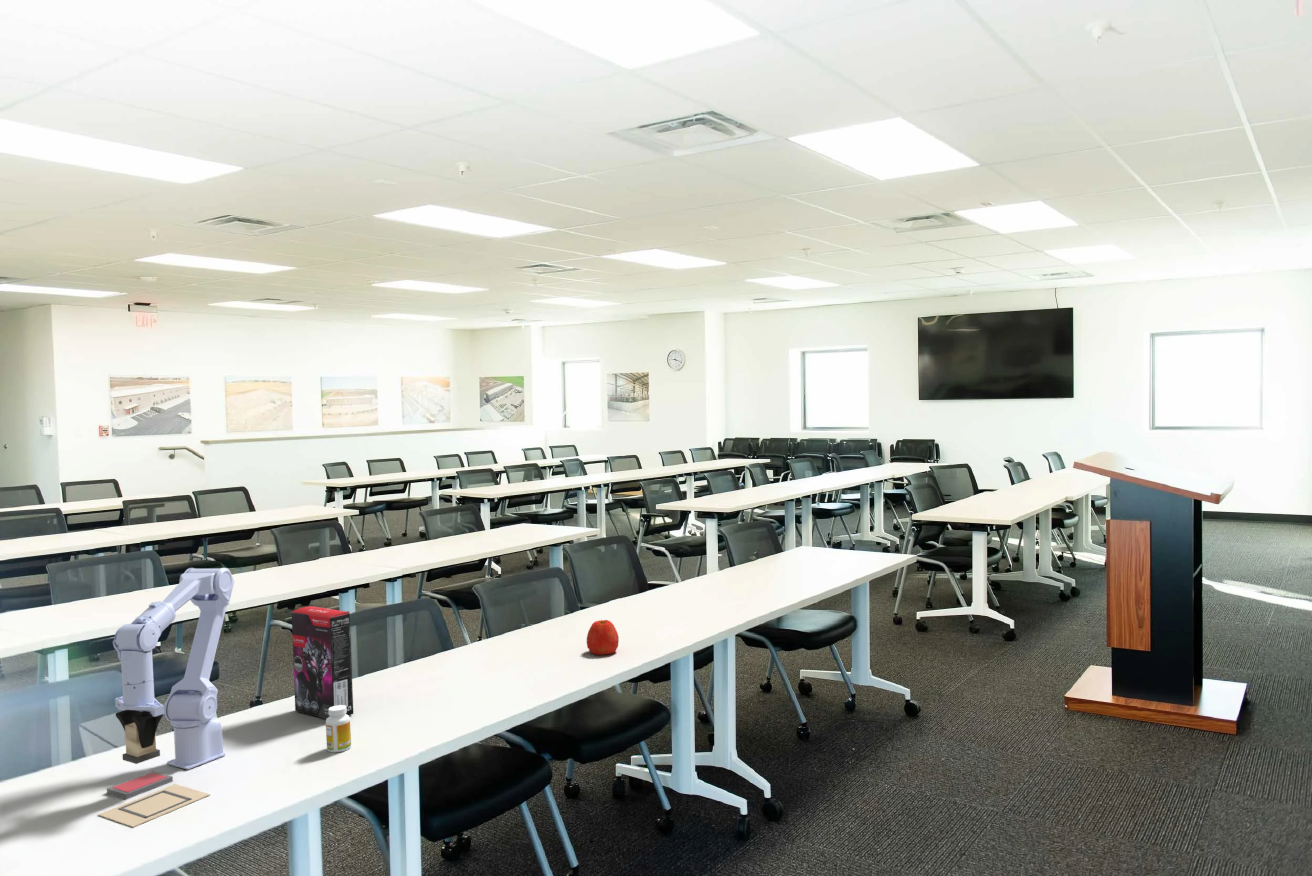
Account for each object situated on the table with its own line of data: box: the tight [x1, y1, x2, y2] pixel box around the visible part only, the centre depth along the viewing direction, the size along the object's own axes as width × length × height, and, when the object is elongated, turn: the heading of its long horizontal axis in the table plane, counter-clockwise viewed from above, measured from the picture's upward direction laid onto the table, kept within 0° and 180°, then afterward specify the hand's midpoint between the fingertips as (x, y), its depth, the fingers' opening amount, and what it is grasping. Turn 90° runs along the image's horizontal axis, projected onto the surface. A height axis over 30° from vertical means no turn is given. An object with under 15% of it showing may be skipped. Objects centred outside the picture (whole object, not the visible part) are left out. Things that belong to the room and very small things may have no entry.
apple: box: [586, 619, 620, 656], centre depth 287 cm, size 10×10×10 cm
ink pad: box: [106, 770, 174, 800], centre depth 192 cm, size 10×7×1 cm
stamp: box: [122, 723, 161, 765], centre depth 190 cm, size 5×5×7 cm
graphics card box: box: [291, 605, 354, 720], centre depth 236 cm, size 17×7×27 cm, turn 56°
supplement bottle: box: [325, 705, 352, 753], centre depth 211 cm, size 5×5×10 cm
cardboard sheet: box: [97, 783, 211, 828], centre depth 183 cm, size 16×12×1 cm
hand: (141, 744), depth 190 cm, fingers closed on stamp, 4 cm apart
